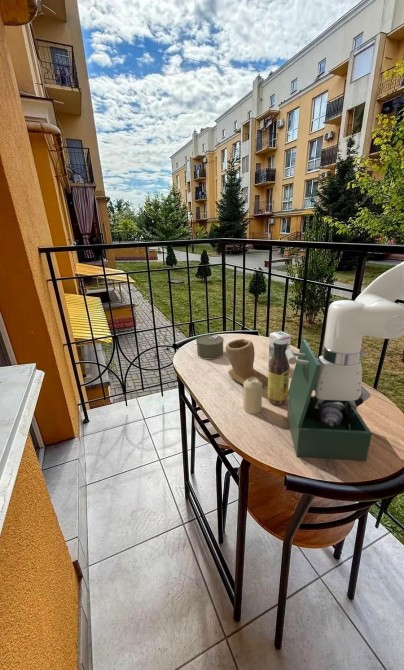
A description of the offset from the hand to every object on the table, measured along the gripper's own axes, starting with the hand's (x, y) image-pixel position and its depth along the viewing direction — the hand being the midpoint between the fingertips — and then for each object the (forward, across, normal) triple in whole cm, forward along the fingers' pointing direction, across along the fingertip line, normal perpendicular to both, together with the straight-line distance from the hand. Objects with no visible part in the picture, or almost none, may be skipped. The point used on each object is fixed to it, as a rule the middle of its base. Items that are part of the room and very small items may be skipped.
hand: (331, 419), depth 70 cm
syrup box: (+6, +8, -38) cm, 40 cm away
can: (+6, +36, -52) cm, 63 cm away
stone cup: (+6, +21, -28) cm, 36 cm away
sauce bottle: (+6, +11, -16) cm, 21 cm away
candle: (+6, +19, -12) cm, 23 cm away
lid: (-10, +8, 0) cm, 13 cm away
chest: (+6, +2, 0) cm, 6 cm away
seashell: (+1, 0, 0) cm, 1 cm away
